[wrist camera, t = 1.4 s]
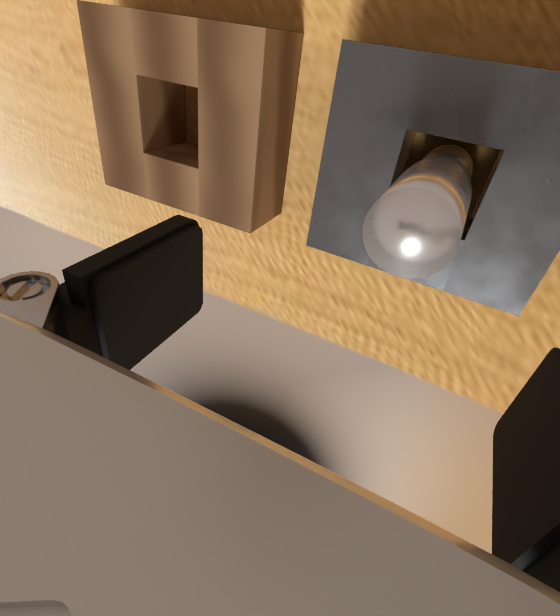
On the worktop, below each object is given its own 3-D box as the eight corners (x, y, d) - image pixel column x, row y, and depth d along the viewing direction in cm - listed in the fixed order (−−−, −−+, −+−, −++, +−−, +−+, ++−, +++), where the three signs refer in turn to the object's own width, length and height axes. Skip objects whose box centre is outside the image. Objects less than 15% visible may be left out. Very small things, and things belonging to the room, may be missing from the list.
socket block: (636, 82, 19) (661, 86, 16) (517, 286, 26) (518, 315, 23) (364, 42, 23) (342, 39, 20) (326, 226, 30) (306, 245, 27)
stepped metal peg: (467, 127, 23) (441, 170, 14) (486, 187, 24) (474, 264, 15) (405, 156, 25) (348, 209, 16) (425, 209, 26) (382, 288, 17)
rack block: (303, 33, 24) (266, 27, 20) (281, 212, 31) (250, 233, 27) (133, 8, 28) (76, 0, 24) (147, 171, 35) (105, 184, 32)
